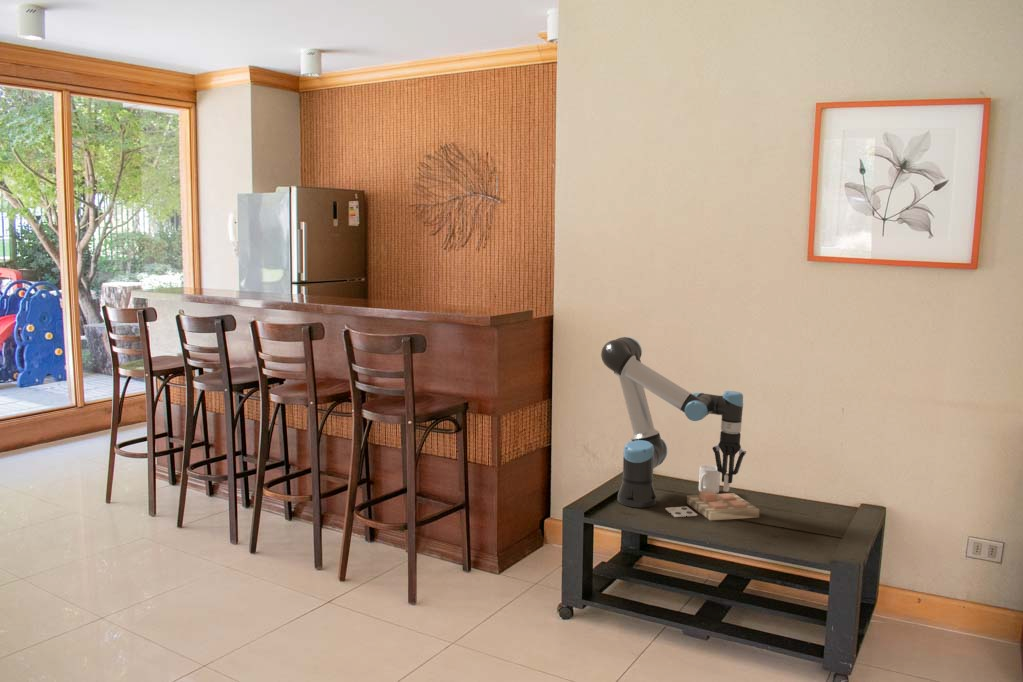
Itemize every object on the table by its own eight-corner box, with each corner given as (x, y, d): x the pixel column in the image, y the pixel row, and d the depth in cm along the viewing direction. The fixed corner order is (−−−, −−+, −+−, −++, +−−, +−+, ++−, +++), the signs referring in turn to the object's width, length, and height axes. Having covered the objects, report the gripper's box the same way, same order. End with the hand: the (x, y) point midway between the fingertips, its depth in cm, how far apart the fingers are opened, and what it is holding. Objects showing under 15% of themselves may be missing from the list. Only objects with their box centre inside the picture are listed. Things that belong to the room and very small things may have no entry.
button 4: (727, 509, 316) (728, 500, 315) (739, 509, 317) (739, 500, 316) (733, 514, 311) (734, 505, 310) (745, 513, 312) (746, 504, 312)
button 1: (699, 500, 321) (699, 491, 321) (711, 499, 323) (711, 490, 322) (705, 504, 317) (705, 495, 316) (716, 503, 318) (717, 494, 317)
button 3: (717, 503, 323) (718, 494, 323) (729, 502, 325) (729, 493, 324) (723, 507, 319) (724, 498, 318) (735, 506, 320) (736, 497, 319)
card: (665, 509, 316) (665, 507, 316) (686, 508, 318) (687, 506, 318) (675, 517, 308) (675, 515, 308) (697, 515, 310) (697, 513, 310)
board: (686, 503, 324) (687, 495, 324) (733, 500, 329) (733, 493, 328) (710, 520, 305) (710, 512, 305) (759, 517, 310) (759, 509, 309)
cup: (722, 491, 340) (723, 467, 339) (710, 498, 331) (711, 473, 330) (703, 487, 345) (705, 463, 344) (691, 494, 336) (692, 469, 335)
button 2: (708, 511, 314) (708, 502, 313) (720, 510, 315) (720, 501, 315) (714, 515, 309) (714, 506, 309) (726, 514, 310) (727, 505, 310)
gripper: (711, 430, 318) (706, 489, 321) (744, 436, 311) (739, 496, 315) (717, 427, 324) (713, 484, 328) (750, 432, 318) (745, 491, 321)
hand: (726, 490), depth 321 cm, fingers closed
